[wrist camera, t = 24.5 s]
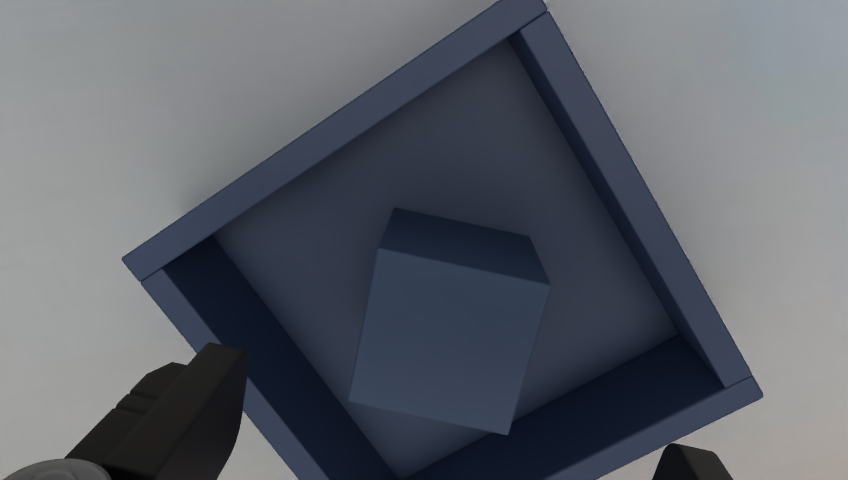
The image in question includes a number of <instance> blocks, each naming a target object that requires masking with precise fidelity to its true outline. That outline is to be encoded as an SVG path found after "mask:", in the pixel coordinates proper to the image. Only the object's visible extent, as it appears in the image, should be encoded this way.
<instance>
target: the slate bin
mask: <svg viewBox="0 0 848 480" xmlns="http://www.w3.org/2000/svg"><path fill="white" fill-rule="evenodd" d="M546 11H547V7H546V5H545V3H544V1H543V0H499V1H498V2H496V3H495V4H493V5H492V6H490V7H489V8H487V9H486V10H485V11H483V12H482V13H480V14H479V15H477V16H476V17H474V18H473V19H471V20H470V21H468V22H467V23H465V24H464V25H463V26H461V27H460V28H458V29H457V30H455V31H454V32H452V33H451V34H449V35H448V36H446V37H445V38H443V39H442V40H441V41H439V42H438V43H436V44H435V45H433V46H432V47H430V48H429V49H427V50H426V51H424V52H423V53H421V54H420V55H419V56H417V57H416V58H414V59H413V60H411V61H410V62H408V63H407V64H405V65H404V66H402V67H401V68H399V69H398V70H397V71H395V72H394V73H392V74H391V75H389V76H388V77H386V78H385V79H383V80H382V81H380V82H379V83H377V84H376V85H375V86H373V87H372V88H370V89H369V90H367V91H366V92H364V93H363V94H361V95H360V96H358V97H357V98H355V99H354V100H353V101H351V102H350V103H348V104H347V105H345V106H344V107H342V108H341V109H339V110H338V111H336V112H335V113H333V114H332V115H331V116H329V117H328V118H326V119H325V120H323V121H322V122H320V123H319V124H317V125H316V126H314V127H313V128H311V129H310V130H309V131H307V132H306V133H304V134H303V135H301V136H300V137H298V138H297V139H295V140H294V141H292V142H291V143H289V144H288V145H287V146H285V147H284V148H282V149H281V150H279V151H278V152H276V153H275V154H273V155H272V156H270V157H269V158H267V159H266V160H265V161H263V162H262V163H260V164H259V165H257V166H256V167H254V168H253V169H251V170H250V171H248V172H247V173H245V174H244V175H243V176H241V177H240V178H238V179H237V180H235V181H234V182H232V183H231V184H229V185H228V186H226V187H225V188H223V189H222V190H221V191H219V192H218V193H216V194H215V195H213V196H212V197H210V198H209V199H207V200H206V201H204V202H203V203H201V204H200V205H199V206H197V207H196V208H194V209H193V210H191V211H190V212H188V213H187V214H185V215H184V216H182V217H181V218H179V219H178V220H177V221H175V222H174V223H172V224H171V225H169V226H168V227H166V228H165V229H163V230H162V231H160V232H159V233H157V234H156V235H155V236H153V237H152V238H150V239H149V240H147V241H146V242H144V243H143V244H141V245H140V246H138V247H137V248H135V249H134V250H133V251H131V252H130V253H128V254H127V255H125V256H124V257H122V261H123V262H124V264H125V265H126V266H127V267H128V269H129V270H130V271H131V272H132V274H133V275H134V276H135V277H136V278H137V280H138V281H139V282H140V281H141V285H142V286H143V287H144V289H145V290H146V291H147V292H148V293H149V295H150V296H151V297H152V298H153V300H154V301H155V302H156V303H157V305H158V306H159V307H160V308H161V310H162V311H163V312H164V313H165V315H166V316H167V317H168V318H169V319H170V321H171V322H172V323H173V324H174V326H175V327H176V328H177V329H178V331H179V332H180V333H181V334H182V336H183V337H184V338H185V339H186V340H187V342H188V343H189V344H190V345H191V347H192V348H193V349H194V350H195V352H196V353H197V354H198V353H199V352H200V350H201V349H202V348H203V347H204V346H205V345H206V344H207V343H209V342H211V343H216V344H220V345H225V346H229V347H234V348H239V349H243V350H248V351H249V355H250V359H249V368H248V375H247V382H246V389H245V396H244V403H243V411H244V412H245V413H246V415H247V416H248V417H249V418H250V420H251V421H252V422H253V423H254V425H255V426H256V427H257V428H258V430H259V431H260V432H261V433H262V435H263V436H264V437H265V438H266V439H267V441H268V442H269V443H270V444H271V446H272V447H273V448H274V449H275V451H276V452H277V453H278V454H279V456H280V457H281V458H282V459H283V460H284V462H285V463H286V464H287V465H288V467H289V468H290V469H291V470H292V472H293V473H294V474H295V475H296V477H297V478H298V479H299V480H596V479H598V478H600V477H602V476H604V475H606V474H608V473H610V472H612V471H614V470H616V469H618V468H620V467H622V466H624V465H626V464H628V463H630V462H632V461H635V460H637V459H639V458H641V457H643V456H645V455H647V454H649V453H651V452H653V451H655V450H657V449H659V448H661V447H663V446H665V445H667V444H669V443H671V442H673V441H675V440H677V439H679V438H681V437H683V436H686V435H688V434H690V433H692V432H694V431H696V430H698V429H700V428H702V427H704V426H706V425H708V424H710V423H712V422H714V421H716V420H718V419H720V418H722V417H724V416H726V415H728V414H730V413H732V412H734V411H737V410H739V409H741V408H743V407H745V406H747V405H749V404H751V403H753V402H755V401H757V400H759V399H761V398H762V397H763V393H762V391H761V389H760V387H759V386H758V384H757V382H756V380H755V378H754V377H753V375H752V373H751V371H750V369H749V367H748V365H747V364H746V362H745V360H744V358H743V356H742V355H741V353H740V351H739V349H738V348H737V346H736V344H735V342H734V340H733V339H732V337H731V335H730V333H729V331H728V330H727V328H726V326H725V324H724V323H723V321H722V319H721V317H720V315H719V314H718V312H717V310H716V308H715V306H714V305H713V303H712V301H711V299H710V298H709V296H708V294H707V292H706V290H705V289H704V287H703V285H702V283H701V282H700V280H699V278H698V276H697V274H696V273H695V271H694V269H693V267H692V265H691V264H690V262H689V260H688V258H687V257H686V255H685V253H684V251H683V249H682V248H681V246H680V244H679V242H678V240H677V239H676V237H675V235H674V233H673V232H672V230H671V228H670V226H669V224H668V223H667V221H666V219H665V217H664V215H663V214H662V212H661V210H660V208H659V207H658V205H657V203H656V201H655V199H654V198H653V196H652V194H651V192H650V191H649V189H648V187H647V185H646V183H645V182H644V180H643V178H642V176H641V174H640V173H639V171H638V169H637V167H636V166H635V164H634V162H633V160H632V158H631V157H630V155H629V153H628V151H627V149H626V148H625V146H624V144H623V142H622V141H621V139H620V137H619V135H618V133H617V132H616V130H615V128H614V126H613V124H612V123H611V121H610V119H609V117H608V116H607V114H606V112H605V110H604V108H603V107H602V105H601V103H600V101H599V100H598V98H597V96H596V94H595V92H594V91H593V89H592V87H591V85H590V83H589V82H588V80H587V78H586V76H585V75H584V73H583V71H582V69H581V67H580V66H579V64H578V62H577V60H576V58H575V57H574V55H573V53H572V51H571V50H570V48H569V46H568V44H567V42H566V41H565V39H564V37H563V35H562V33H561V32H560V30H559V28H558V26H557V25H556V23H555V21H554V19H553V17H552V16H551V14H550V12H549V11H547V12H546ZM394 208H400V209H405V210H409V211H414V212H419V213H423V214H428V215H432V216H437V217H442V218H446V219H451V220H455V221H460V222H465V223H469V224H474V225H478V226H483V227H488V228H492V229H497V230H501V231H506V232H511V233H515V234H520V235H524V236H529V237H530V239H531V241H532V243H533V245H534V248H535V250H536V252H537V254H538V256H539V259H540V261H541V263H542V265H543V268H544V270H545V272H546V274H547V277H548V279H549V281H550V283H551V286H552V287H551V291H550V294H549V298H548V301H547V304H546V308H545V311H544V315H543V318H542V321H541V325H540V328H539V332H538V335H537V339H536V342H535V345H534V349H533V352H532V356H531V359H530V362H529V366H528V369H527V373H526V376H525V380H524V383H523V386H522V390H521V393H520V397H519V400H518V403H517V407H516V410H515V414H514V417H513V421H512V424H511V427H510V431H509V434H508V435H503V434H498V433H494V432H489V431H484V430H480V429H475V428H470V427H465V426H461V425H456V424H451V423H446V422H442V421H437V420H432V419H428V418H423V417H418V416H413V415H409V414H404V413H399V412H395V411H390V410H385V409H380V408H376V407H371V406H366V405H361V404H357V403H352V402H349V401H348V399H347V398H348V393H349V388H350V383H351V378H352V373H353V368H354V363H355V358H356V353H357V348H358V343H359V338H360V333H361V328H362V323H363V318H364V313H365V308H366V303H367V298H368V293H369V288H370V283H371V278H372V273H373V268H374V263H375V258H376V253H377V248H378V246H379V243H380V241H381V239H382V236H383V234H384V231H385V229H386V226H387V224H388V221H389V219H390V216H391V214H392V211H393V209H394Z"/></svg>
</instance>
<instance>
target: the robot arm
mask: <svg viewBox="0 0 848 480" xmlns="http://www.w3.org/2000/svg"><path fill="white" fill-rule="evenodd" d="M249 359H250V355H249V351H248V350H243V349H239V348H234V347H229V346H225V345H220V344H216V343H211V342H209V343H207V344H206V345H205V346H204V347H203V348H202V349H201V350H200V352H199V353H198V354H197V355H196V356H195V357H194V358H193V359H192V361H191V362H190V363H189V364H188V365H183V364H179V363H174V362H171V363H169V364H167V365H165V366H163V367H161V368H159V369H156V370H154V371H152V372H150V373H148V374H146V375H145V376H144V377H143V378H142V379H141V380H140V382H139V383H138V384H137V385H136V386H135V387H134V388H133V389H132V390H131V391H130V394H127V395H126V396H125V397H124V398H123V399H122V400H121V401H120V402H119V403H118V404H117V406H116V408H115V409H114V408H113V409H112V410H111V411H110V412H109V413H108V414H107V415H106V416H105V417H104V418H103V419H102V420H101V421H100V422H99V423H98V424H97V425H96V426H95V427H94V428H93V429H92V430H91V431H90V432H89V433H88V434H87V435H86V436H85V437H84V438H83V439H82V440H81V441H80V442H79V443H78V444H77V445H76V446H75V448H74V449H73V450H72V451H71V452H70V453H69V454H68V455H67V456H66V457H65V458H64V459H54V460H47V461H43V462H39V463H35V464H32V465H29V466H27V467H24V468H22V469H20V470H18V471H16V472H14V473H12V474H11V475H9V476H8V477H6V478H5V479H4V480H217V478H218V476H219V474H220V473H221V471H222V469H223V467H224V466H225V464H226V462H227V460H228V459H229V457H230V455H231V453H232V450H233V448H234V445H235V442H236V439H237V436H238V433H239V429H240V424H241V418H242V411H243V403H244V396H245V389H246V382H247V375H248V368H249ZM652 480H733V479H732V477H731V476H730V474H729V473H728V471H727V470H726V468H725V467H724V465H723V464H722V462H721V461H720V459H719V458H718V456H717V455H716V454H715V453H714V452H712V451H708V450H703V449H698V448H694V447H689V446H684V445H680V444H675V443H671V444H669V445H668V446H667V447H666V448H665V449H664V451H663V453H662V456H661V458H660V461H659V463H658V466H657V469H656V471H655V474H654V476H653V479H652Z"/></svg>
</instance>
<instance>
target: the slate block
mask: <svg viewBox="0 0 848 480" xmlns="http://www.w3.org/2000/svg"><path fill="white" fill-rule="evenodd" d="M551 287H552V286H551V283H550V281H549V279H548V277H547V274H546V272H545V270H544V268H543V265H542V263H541V261H540V259H539V256H538V254H537V252H536V250H535V248H534V245H533V243H532V241H531V239H530V237H529V236H524V235H520V234H515V233H511V232H506V231H501V230H497V229H492V228H488V227H483V226H478V225H474V224H469V223H465V222H460V221H455V220H451V219H446V218H442V217H437V216H432V215H428V214H423V213H419V212H414V211H409V210H405V209H400V208H394V209H393V211H392V214H391V216H390V219H389V221H388V224H387V226H386V229H385V231H384V234H383V236H382V239H381V241H380V243H379V246H378V248H377V253H376V258H375V263H374V268H373V273H372V278H371V283H370V288H369V293H368V298H367V303H366V308H365V313H364V318H363V323H362V328H361V333H360V338H359V343H358V348H357V353H356V358H355V363H354V368H353V373H352V378H351V383H350V388H349V393H348V398H347V399H348V401H349V402H352V403H357V404H361V405H366V406H371V407H376V408H380V409H385V410H390V411H395V412H399V413H404V414H409V415H413V416H418V417H423V418H428V419H432V420H437V421H442V422H446V423H451V424H456V425H461V426H465V427H470V428H475V429H480V430H484V431H489V432H494V433H498V434H503V435H508V434H509V431H510V427H511V424H512V421H513V417H514V414H515V410H516V407H517V403H518V400H519V397H520V393H521V390H522V386H523V383H524V380H525V376H526V373H527V369H528V366H529V362H530V359H531V356H532V352H533V349H534V345H535V342H536V339H537V335H538V332H539V328H540V325H541V321H542V318H543V315H544V311H545V308H546V304H547V301H548V298H549V294H550V291H551Z"/></svg>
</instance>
